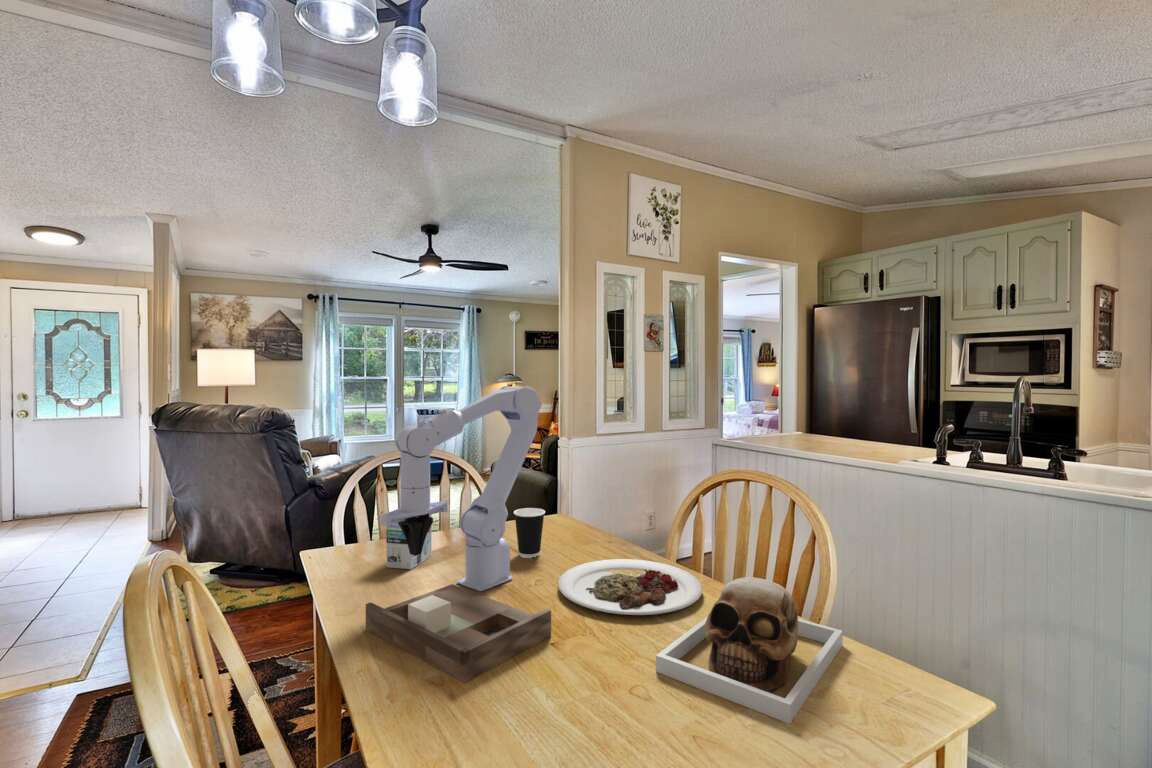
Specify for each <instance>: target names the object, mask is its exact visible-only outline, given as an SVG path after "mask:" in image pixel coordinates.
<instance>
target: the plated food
mask: <svg viewBox="0 0 1152 768" xmlns="http://www.w3.org/2000/svg"><path fill="white" fill-rule="evenodd" d="M622 569H623V570H639V571H645V572H646V573H645V574H641V575H640V574H639V575H637V576H638V577H637V576H635V577H634V576H633V575H632V574H630V575H627V574H623V573H616V574H613V573H611V570H622ZM606 571H610V572H606ZM557 585H558V588H559V592H560V593H561V594H562V595H563V596H564V597H565V598H566V599H568V600H570V602H573V603H575V604H577V605H579V606H582V607H585V608H587V609H591V610H592V611H593V610H594V611H597V612H603V613H607V614H608V613H609V614H617V615H627V616H628V615H630V616H631V615H632V616H646V615H647V616H648V615H659V614H665V613H670V612H675V611H678V610H682V609H684V608H687V607H689V606H692V605H693V604H695V602H697V601H699V599H700V597H701V596H702V594H703V586H702V584H701V582H700V581H699V579H698V578H696V576H694V575H693V574H691V573H690V572H688V571H686V570H683V569H681V568H678V567H676V566H673V565H669V564H666V563H662V562H656V561H652V560H651V561H650V560H645V559H635V558H633V559H632V558H631V559H630V558H629V559H627V558H626V559H625V558H620V559H619V558H616V559H615V558H613V559H603V560H595V561H590V562H585V563H582V564H579V565H576V566H574V567H571V568H569V569H567V570H565V572H563V573H562V575H561V576H560V577H559V579H558V582H557Z"/></svg>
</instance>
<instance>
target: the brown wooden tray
mask: <svg viewBox="0 0 1152 768" xmlns="http://www.w3.org/2000/svg"><path fill="white" fill-rule="evenodd" d="M432 595H434V596H436V597H439V598H441V599H444V600H446V601H449V602H451V626H449V627H447V628H445V629H443V630H440V631H438V632H436V633H434V632H432V631H430V630H427V629H425V628H423V627H421V626H419V625H417V624H415V623H413V622H411V621H409V620H408V604H410V603H413V602H416V601H418V600H421V599H424V598H426V597H429V596H432ZM365 630H366V631H367V632H370V633H372V634H373V635H375V636H377V637H379V638H380V639H383V640H384V641H386V642H388V643H390V644H392V645H393V646H395V647H397V648H400V649H401V650H403V651H405V652H407V653H408V654H410V655H413V656H414V657H416V658H417V659H419V660H421V661H424V662H425V663H426V664H429V665H431V666H432V667H434V668H436V669H438V670H440V671H441V672H443V673H446V674H447V675H449V676H450V677H453V679H456V680H458V681H459V682H462V683H463V684H466V683H467V682H470V681H471V680H474V679H476V678H477V677H479V676H480V675H482V674H484V673H486V672H488V671H490V670H492V669H493V668H495V667H497V666H499V665H501V664H502V663H505V662H506V661H508V660H510V659H511V658H512V659H513V658H514V657H515V656H517V655H519V654H521V653H523V652H524V651H526V650H529V649H530V648H531V647H533V646H536V645H538V644H539V643H541V642H543V641H544V640H546V639H549V638H550V637H551V636H552V609H549V608H545V609H543V610H541V611H539V612H537V613H535V614H532V613H529V612H526V611H525V610H521V609H518V608H516V607H513V606H512V605H508V604H505V603H503V602H500V601H498V600H495V599H492V598H489V597H487V596H484V595H482V594H479V593H476V592H473V591H472V590H468V589H466V588H463V587H460V586H458V585H455V584H449V585H446V586H444V587H440V588H438V589H435V590H432V591H430V592H427V593H424V594H421V595H418V596H416V597H412V598H410V599H408V600H407V599H406V600H404V601H402V602H400V603H396V604H394V605H390V606H387V607H385V608H384V607H382V606H379V605H378V604H375V603H373V602H371V601H370V602H367V603H365Z"/></svg>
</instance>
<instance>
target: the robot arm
mask: <svg viewBox="0 0 1152 768" xmlns="http://www.w3.org/2000/svg"><path fill="white" fill-rule="evenodd" d="M542 406H543V405H542V401H541V398H540V396H539V393H538V391H537V390H536V389H535V388H534V387H532V386H510V385H504V386H502V387H500V388H497V389H494V390H492V391H490V392H489V393H487V394H485V395H484V396H482V397H480V398H477V400H475V401H473V402H471V403H469V404H467V405H465V406H464V407H462V408H461V409H458V410H455V409H453V408H448V409H446V408H441V409H439V410H438V411H437V412H438V413H437V414H435V415H433V416H431V417H429V418H427V419H420V420H418V421H417V426H414V425H408V426H405V427H404V428H402V429H401V430H400V432H399V433H398V435H397V439H395V440H394V441H395V447H396V449H397V450H398V451H399V452H400V506H399V508H397V509H393V510H392V511H388V512H386V513H382V514H380V525H381V526H385V527H387V526H389V525H391V524H393V523H397V522H398V525H399V526H400V528H401V529H402V531H403V533H404V535H405V538H406V541H407V544H408V548H409V552H410V554H412V555H415V556H417V555H420V554H421V553H422V549H423V545H424V541H425V538H426V535H427V533H428V531H429V529H430V527H431V528H432V525H433V523H434V517H433V516H432V517H429V515H434V514H439V513H447V512H448V502H447V501H442V500H441V501H436V502H431V454H432V453H433V452H434V450H435V448H436V447H438V446H439V445H441V444H443V443H445V442H447V441H448V440H451V439H452V438H454V437H457V436H459V435H460V434H462V433H463V431H464V427H465V426H466V425H467V424H469V423H472V422H474V421H477V420H478V419H480V418H483V417H485V416H487V415H489V414H491V413H492V414H493V412H496V411H497V412H500V413H501V415H502V416H503V418H504V419H505V420H506V421H507V422H508V425H509V428H510V433H509V435H508V436H507V439H506V441H505V443H504V445H503V448H502V450H501V453H500V454H499V456H498V459H497V461H496V463H495V465H494V467H493V470H492V471H491V475H490V476H489V478H488V481H487V482H486V485H485V487H484V490H483V491H482V494H480V495H479V496H477V497H475V498H474V499H473V500H472V502H471V504H470V505H469V508H467V509H466V510H465V511H464V512H463V513H462V515H461V517H460V520H459V526H460V530H461V531H462V533H463V534H464V535H465V536H464V537H465V538H464V539H465V555H464V557H465V559H464V561H465V564H464V565H465V575H464V577H463V578H460V579H458V580H456V584H459V585H461V586H463V587H466V588H469V589H473V590H474V591H478V592H484V591H485V590H486V591H487V590H488V589H491V588H493V587H495V586H496V587H497V586H498V585H501V584H503V583H506V582H508V581H512V580H513V576H511V575H510V573H511V561H510V560H511V550H510V546H509V543H508V542H507V540H506V539H505V538H504V537H503V536H504V534H505V531H506V521H507V518H508V516H509V513H508V509H507V506H506V502H507V500H508V498H509V496H510V493H511V491H512V488H513V487H514V484H515V481H516V480H517V477H518V476H519V474H520V470H521V469H522V466H523V464H524V461H525V459H526V457H527V454H528V452H529V451H530V448H531V446H532V443H533V441H534V439H535V437H536V435H537V432H538V421H539V420H538V419H539V418H538V416H539V412H540V410H541V408H542Z"/></svg>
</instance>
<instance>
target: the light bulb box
mask: <svg viewBox="0 0 1152 768" xmlns="http://www.w3.org/2000/svg"><path fill="white" fill-rule="evenodd" d="M432 515H433V514H431V515H429V517H432V518H433V516H432ZM431 557H432V526H431V527H430V529H429V531H428V533H427V535H426V538H425V541H424V545H423V549H422V553H421V554H420V555H417V556H415V555H412V554H410V552H409V548H408V544H407V541H406V538H405V535H404V533H403V531H402V529H401V528H400V526H399V525H398V522H397V523H393V524H391V525H389V526H386V568H391V569H403V570H412V569H414V568H415V567H417V566H418V565H420V564H422V563H423V562H424V561H426V560H427V559H429V558H431Z"/></svg>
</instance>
